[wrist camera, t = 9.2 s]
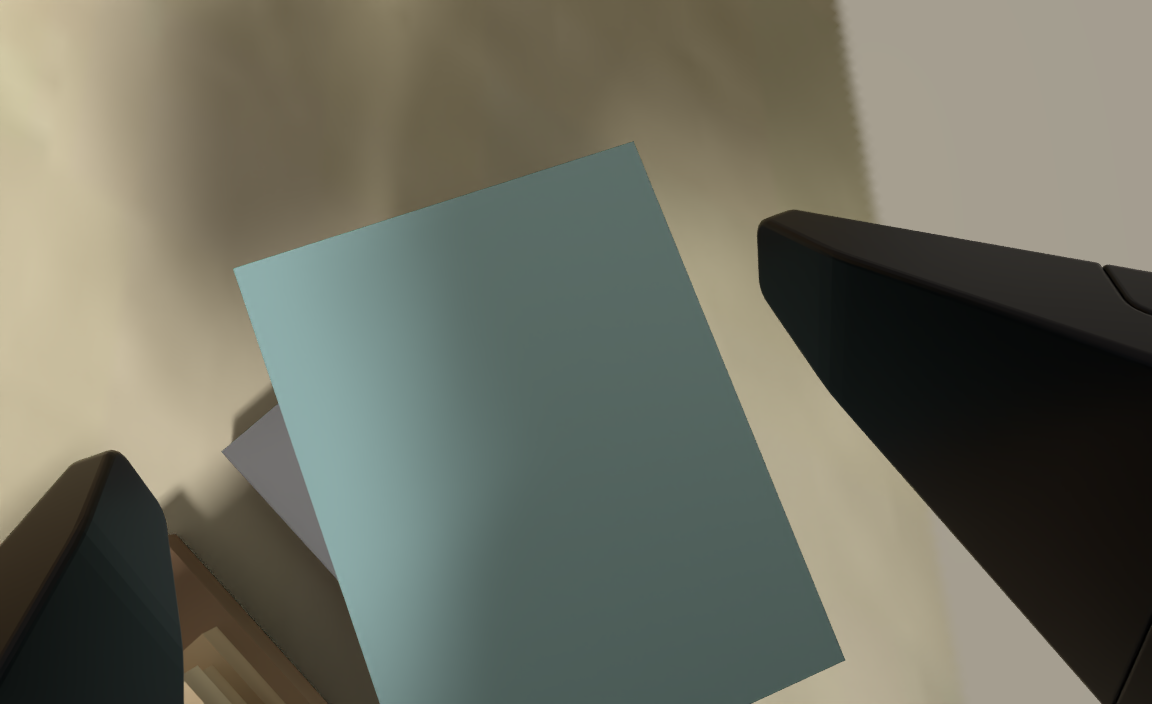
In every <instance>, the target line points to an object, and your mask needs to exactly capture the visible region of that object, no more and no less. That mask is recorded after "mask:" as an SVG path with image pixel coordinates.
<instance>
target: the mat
mask: <svg viewBox="0 0 1152 704" xmlns="http://www.w3.org/2000/svg"><path fill="white" fill-rule="evenodd" d="M221 452H222V453H223V454H224V455H225V456H226V457H227V459H228V460H229V461H230V462H231V463H232V464H233V465H234V466H235V467H236V468H237V470H238V471H239V472H240V473H241V474H242V475H243V476H244V477H245V478H246V480H247V481H248V482H249V483H250V484H251V485H252V486H253V487H254V488H255V489H256V491H257V492H258V493H259V494H260V495H261V496H262V497H263V498H264V499H265V501H266V502H267V503H268V504H269V505H270V506H271V507H272V508H273V509H274V510H275V512H276V513H277V514H278V515H279V516H280V517H281V518H282V519H283V520H284V522H285V523H286V524H287V525H288V526H289V527H290V528H291V529H292V530H293V531H294V533H295V534H296V535H297V536H298V537H299V538H300V539H301V540H302V541H303V542H304V544H305V545H306V546H307V547H308V548H309V549H310V550H311V551H312V552H313V554H314V555H315V556H316V557H317V558H318V559H319V560H320V561H321V562H322V563H323V565H324V566H325V567H326V568H327V569H328V570H329V571H330V572H331V573H332V575H333V576H334V577H335V578H336V579H337V580H338V578H337V575H336V572H335V569H334V566H333V564H332V561H331V558H330V555H329V552H328V549H327V546H326V543H325V540H324V537H323V534H322V531H321V528H320V525H319V522H318V519H317V516H316V513H315V510H314V507H313V504H312V501H311V498H310V495H309V492H308V489H307V486H306V483H305V480H304V478H303V475H302V472H301V469H300V466H299V463H298V460H297V457H296V454H295V451H294V448H293V445H292V442H291V439H290V436H289V433H288V430H287V427H286V424H285V421H284V418H283V415H282V412H281V409H280V406H279V403H278V404H277V405H276V406H274V407H273V408H272V409H271V410H270V411H269V412H267V413H266V414H265V415H264V416H263V417H261V418H260V419H259V420H258V421H257V422H256V423H254V424H253V425H252V426H251V427H250V428H249V429H247V430H246V431H245V432H244V433H243V434H241V435H240V436H239V437H238V438H237V439H236V440H234V441H233V442H232V443H231V444H230V445H229V446H227V447H226V448H225V449H224V450H223V451H221Z"/></svg>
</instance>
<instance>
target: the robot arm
mask: <svg viewBox="0 0 1152 704" xmlns="http://www.w3.org/2000/svg"><path fill="white" fill-rule="evenodd" d="M757 246H758V269H759V283H760V288H761V291H762V294H763V296H764V298H765V300H766V301H767V303H768V304H769V306H770V307H771V309H772V310H773V312H774V313H775V315H776V316H777V318H778V319H779V320H780V322H781V323H782V325H783V326H784V328H785V329H786V331H787V332H788V334H789V335H790V337H791V338H792V339H793V341H794V342H795V344H796V345H797V347H798V348H799V350H800V351H801V353H802V354H803V356H804V357H805V358H806V360H807V361H808V363H809V364H810V366H811V367H812V369H813V370H814V372H815V373H816V375H817V376H818V377H819V379H820V380H821V382H822V383H823V384H824V386H825V387H826V388H827V390H828V391H829V392H830V394H831V395H832V396H833V397H834V398H835V400H836V401H837V402H838V403H839V404H840V406H841V407H842V408H843V409H844V410H845V411H846V412H847V414H848V415H849V416H850V417H851V418H852V419H853V420H854V422H855V423H856V424H857V425H858V426H859V427H860V428H861V430H862V431H863V432H864V433H865V434H866V435H867V436H868V438H869V439H870V440H871V441H872V442H873V443H874V444H875V446H876V447H877V448H878V449H879V450H880V451H881V452H882V454H883V455H884V456H885V457H886V458H887V459H888V460H889V462H890V463H891V464H892V465H893V466H894V467H895V468H896V470H897V471H898V472H899V473H900V474H901V475H902V476H903V478H904V479H905V480H906V481H907V482H908V483H909V484H910V486H911V487H912V488H913V489H914V490H915V491H916V492H917V494H918V495H919V496H920V497H921V498H922V499H923V500H924V502H925V503H926V504H927V505H928V506H929V507H930V508H931V510H932V511H933V512H934V513H935V514H936V515H937V516H938V518H939V519H940V520H941V521H942V522H943V523H944V524H945V525H946V526H947V528H948V529H949V530H950V531H951V532H952V533H953V534H954V536H955V537H956V538H957V539H958V540H959V541H960V543H961V544H962V545H963V546H964V547H965V548H966V549H967V550H968V552H969V553H970V554H971V555H972V556H973V557H974V559H975V560H976V561H977V562H978V563H979V564H980V565H981V566H982V568H983V569H984V570H985V571H986V572H987V573H988V575H989V576H990V577H991V578H992V579H993V580H994V581H995V583H996V584H997V585H998V586H999V587H1000V588H1001V589H1002V591H1003V592H1004V593H1005V594H1006V595H1007V596H1008V597H1009V598H1010V600H1011V601H1012V602H1013V603H1014V604H1015V605H1016V607H1017V608H1018V609H1019V610H1020V611H1021V612H1022V613H1023V615H1024V616H1025V617H1026V618H1027V619H1028V620H1029V621H1030V623H1031V624H1032V625H1033V626H1034V627H1035V628H1036V629H1037V630H1038V632H1039V633H1040V634H1041V635H1042V636H1043V637H1044V638H1045V640H1046V641H1047V642H1048V643H1049V644H1050V645H1051V647H1053V649H1054V650H1055V651H1056V652H1057V653H1058V655H1059V656H1060V657H1061V658H1062V659H1063V660H1064V661H1065V662H1066V664H1067V665H1068V666H1069V667H1070V668H1071V669H1072V670H1073V672H1074V673H1075V674H1076V675H1077V676H1078V677H1079V678H1080V680H1081V681H1082V682H1083V683H1084V684H1085V685H1086V686H1087V687H1088V689H1089V690H1090V691H1091V692H1092V693H1093V694H1094V695H1095V697H1096V698H1097V699H1098V700H1099V701H1100V702H1101V704H1152V272H1148V271H1142V270H1135V269H1130V268H1125V267H1119V266H1114V265H1105V266H1103V268H1102V267H1101V265H1100V264H1099V263H1095V262H1090V261H1084V260H1078V259H1073V258H1067V257H1061V256H1055V255H1050V254H1044V253H1038V252H1033V251H1027V250H1021V249H1015V248H1010V247H1004V246H998V245H993V244H987V243H981V242H976V241H970V240H964V239H959V238H953V237H947V236H942V235H936V234H930V233H925V232H919V231H913V230H908V229H902V228H896V227H891V226H885V225H879V224H873V223H868V222H862V221H856V220H851V219H845V218H839V217H834V216H828V215H822V214H817V213H811V212H805V211H800V210H788V211H785V212H782V213H779V214H777V215H774V216H771V217H768V218H766V219H764V220H762V221H761V223H760V224H759V226H758V230H757ZM0 704H184V660H183V644H182V635H181V626H180V619H179V612H178V604H177V597H176V590H175V582H174V575H173V568H172V560H171V553H170V546H169V538H168V531H167V524H166V520H165V516H164V513H163V511H162V508H161V507H160V505H159V503H158V501H157V500H156V498H155V497H154V496H153V494H152V493H151V491H150V490H149V489H148V487H147V486H146V485H145V483H144V482H143V480H142V479H141V478H140V476H139V475H138V473H137V472H136V471H135V469H134V468H133V467H132V465H131V464H130V462H129V461H128V460H127V459H126V457H125V456H123V455H122V454H121V453H120V452H118V451H115V450H108V451H105V452H102V453H100V454H97V455H94V456H91V457H88V458H85V459H82V460H80V461H77V462H75V463H73V464H71V465H70V466H69V467H68V469H67V470H66V471H65V472H64V473H63V474H62V475H61V477H60V478H59V479H58V480H57V481H56V482H55V483H54V484H53V486H52V487H51V488H50V489H49V490H48V491H47V492H46V494H45V495H44V496H43V497H42V498H41V499H40V500H39V502H38V503H37V504H36V505H35V506H34V507H33V508H32V510H31V511H30V512H29V513H28V514H27V515H26V516H25V518H24V519H23V520H22V521H21V522H20V523H19V524H18V526H17V527H16V528H15V529H14V530H13V531H12V532H11V534H10V535H9V536H8V537H7V538H6V539H5V540H4V542H3V543H2V544H1V545H0Z"/></svg>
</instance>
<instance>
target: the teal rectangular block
mask: <svg viewBox="0 0 1152 704" xmlns="http://www.w3.org/2000/svg"><path fill="white" fill-rule="evenodd" d="M233 270H234V273H235V276H236V279H237V282H238V285H239V288H240V291H241V294H242V297H243V300H244V303H245V306H246V309H247V311H248V314H249V317H250V320H251V323H252V326H253V329H254V332H255V335H256V338H257V341H258V344H259V347H260V350H261V353H262V356H263V359H264V362H265V365H266V368H267V371H268V374H269V377H270V380H271V383H272V386H273V389H274V392H275V394H276V397H277V400H278V403H279V406H280V409H281V412H282V415H283V418H284V421H285V424H286V427H287V430H288V433H289V436H290V439H291V442H292V445H293V448H294V451H295V454H296V457H297V460H298V463H299V466H300V469H301V472H302V475H303V478H304V480H305V483H306V486H307V489H308V492H309V495H310V498H311V501H312V504H313V507H314V510H315V513H316V516H317V519H318V522H319V525H320V528H321V531H322V534H323V537H324V540H325V543H326V546H327V549H328V552H329V555H330V558H331V561H332V564H333V566H334V569H335V572H336V575H337V578H338V581H339V584H340V587H341V590H342V593H343V596H344V599H345V602H346V605H347V608H348V611H349V614H350V617H351V620H352V623H353V626H354V629H355V632H356V635H357V638H358V641H359V644H360V647H361V650H362V652H363V655H364V658H365V661H366V664H367V667H368V670H369V673H370V676H371V679H372V682H373V685H374V688H375V691H376V694H377V697H378V700H379V703H380V704H751V703H754V702H756V701H758V700H760V699H762V698H764V697H767V696H769V695H771V694H773V693H775V692H777V691H780V690H782V689H784V688H786V687H788V686H790V685H793V684H795V683H797V682H799V681H801V680H803V679H806V678H808V677H810V676H812V675H814V674H816V673H819V672H821V671H823V670H825V669H827V668H829V667H832V666H834V665H836V664H838V663H840V662H842V661H845V658H844V656H843V653H842V651H841V649H840V646H839V644H838V641H837V639H836V636H835V634H834V631H833V629H832V626H831V624H830V622H829V619H828V617H827V614H826V612H825V609H824V607H823V604H822V602H821V600H820V597H819V595H818V592H817V590H816V587H815V585H814V582H813V580H812V577H811V575H810V573H809V570H808V568H807V565H806V563H805V560H804V558H803V555H802V553H801V551H800V548H799V546H798V543H797V541H796V538H795V536H794V533H793V531H792V528H791V526H790V524H789V521H788V519H787V516H786V514H785V511H784V509H783V506H782V504H781V502H780V499H779V497H778V494H777V492H776V489H775V487H774V484H773V482H772V479H771V477H770V475H769V472H768V470H767V467H766V465H765V462H764V460H763V457H762V455H761V453H760V450H759V448H758V445H757V443H756V440H755V438H754V435H753V433H752V430H751V428H750V426H749V423H748V421H747V418H746V416H745V413H744V411H743V408H742V406H741V404H740V401H739V399H738V396H737V394H736V391H735V389H734V386H733V384H732V381H731V379H730V377H729V374H728V372H727V369H726V367H725V364H724V362H723V359H722V357H721V355H720V352H719V350H718V347H717V345H716V342H715V340H714V337H713V335H712V332H711V330H710V328H709V325H708V323H707V320H706V318H705V315H704V313H703V310H702V308H701V305H700V303H699V301H698V298H697V296H696V293H695V291H694V288H693V286H692V283H691V281H690V279H689V276H688V274H687V271H686V269H685V266H684V264H683V261H682V259H681V256H680V254H679V252H678V249H677V247H676V244H675V242H674V239H673V237H672V234H671V232H670V230H669V227H668V225H667V222H666V220H665V217H664V215H663V212H662V210H661V207H660V205H659V203H658V200H657V198H656V195H655V193H654V190H653V188H652V185H651V183H650V181H649V178H648V176H647V173H646V171H645V168H644V166H643V163H642V161H641V158H640V156H639V154H638V151H637V149H636V146H635V144H634V141H633V142H630V143H627V144H623V145H620V146H617V147H614V148H611V149H608V150H605V151H601V152H598V153H595V154H592V155H589V156H586V157H583V158H579V159H576V160H573V161H570V162H567V163H564V164H561V165H557V166H554V167H551V168H548V169H545V170H542V171H539V172H535V173H532V174H529V175H526V176H523V177H520V178H516V179H513V180H510V181H507V182H504V183H501V184H498V185H494V186H491V187H488V188H485V189H482V190H479V191H476V192H472V193H469V194H466V195H463V196H460V197H457V198H454V199H450V200H447V201H444V202H441V203H438V204H435V205H432V206H428V207H425V208H422V209H419V210H416V211H413V212H410V213H406V214H403V215H400V216H397V217H394V218H391V219H388V220H384V221H381V222H378V223H375V224H372V225H369V226H365V227H362V228H359V229H356V230H353V231H350V232H347V233H343V234H340V235H337V236H334V237H331V238H328V239H325V240H321V241H318V242H315V243H312V244H309V245H306V246H303V247H299V248H296V249H293V250H290V251H287V252H284V253H281V254H277V255H274V256H271V257H268V258H265V259H262V260H259V261H255V262H252V263H249V264H246V265H243V266H240V267H237V268H233Z"/></svg>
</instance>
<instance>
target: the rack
mask: <svg viewBox="0 0 1152 704" xmlns="http://www.w3.org/2000/svg"><path fill="white" fill-rule="evenodd" d="M168 538H169V546H170V553H171V560H172V568H173V575H174V582H175V590H176V597H177V604H178V612H179V619H180V626H181V635H182V644H183V660H184V704H328V703H327V702H326V701H325V700H324V699H323V698H322V696H321V695H320V694H319V693H318V692H317V691H316V690H315V689H314V687H313V686H312V685H311V684H310V683H309V682H308V681H307V680H306V679H305V677H304V676H303V675H302V674H301V673H300V672H299V671H298V670H297V669H296V667H295V666H294V665H293V664H292V663H291V662H290V661H289V660H288V658H287V657H286V656H285V655H284V654H283V653H282V652H281V651H280V650H279V648H278V647H277V646H276V645H275V644H274V643H273V642H272V641H271V640H270V638H269V637H268V636H267V635H266V634H265V633H264V632H263V631H262V630H261V628H260V627H259V626H258V625H257V624H256V623H255V622H254V621H253V619H252V618H251V617H250V616H249V615H248V614H247V613H246V612H245V611H244V609H243V608H242V607H241V606H240V605H239V604H238V603H237V602H236V601H235V599H234V598H233V597H232V596H231V595H230V594H229V593H228V592H227V590H226V589H225V588H224V587H223V586H222V585H221V584H220V583H219V582H218V580H217V579H216V578H215V577H214V576H213V575H212V574H211V573H210V572H209V570H208V569H207V568H206V567H205V566H204V565H203V564H202V563H201V562H200V560H199V559H198V558H197V557H196V556H195V555H194V554H193V553H192V551H191V550H190V549H189V548H188V547H187V546H186V545H185V544H184V543H183V541H182V540H181V539H180V538H179V537H178V536H177V535H176V534H173V535H168Z"/></svg>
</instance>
